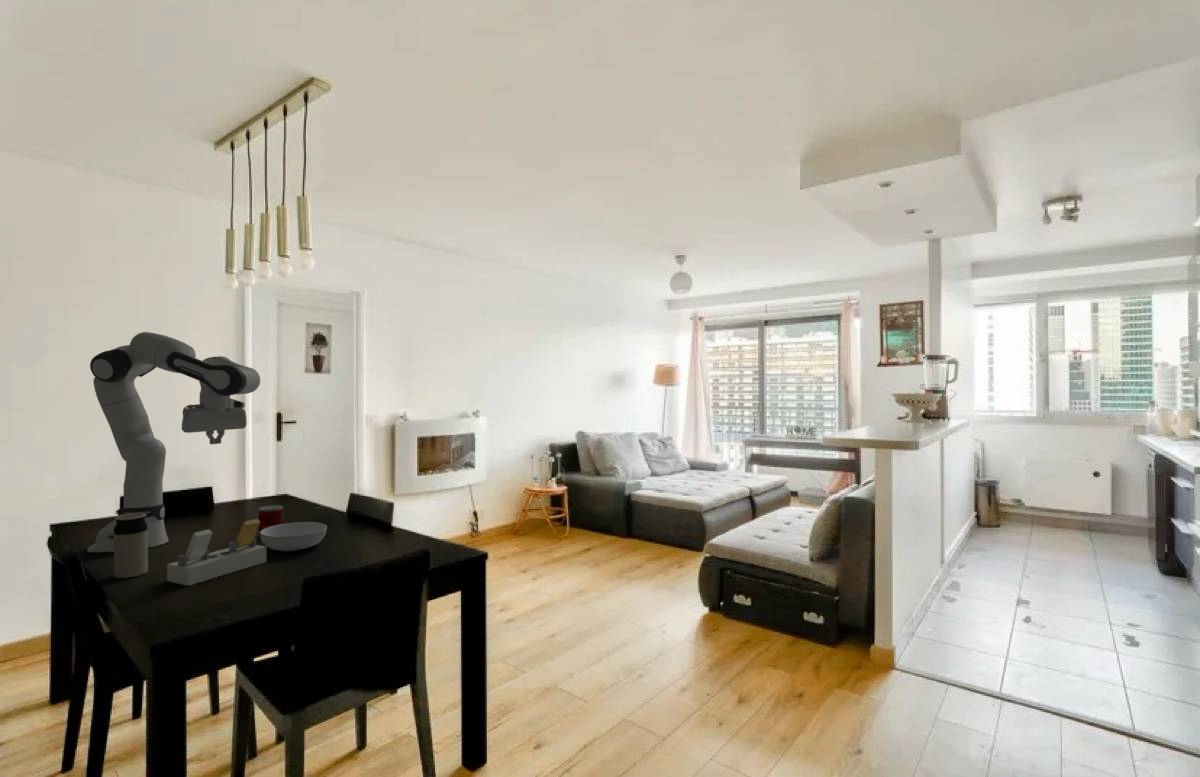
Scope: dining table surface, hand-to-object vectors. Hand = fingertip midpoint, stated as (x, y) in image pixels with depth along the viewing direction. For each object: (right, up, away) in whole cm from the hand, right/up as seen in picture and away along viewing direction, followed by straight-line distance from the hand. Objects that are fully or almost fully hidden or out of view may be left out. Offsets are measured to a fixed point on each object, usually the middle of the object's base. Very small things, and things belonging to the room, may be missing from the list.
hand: (215, 443), depth 201 cm
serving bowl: (+25, -37, +4) cm, 45 cm away
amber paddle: (+18, -31, -14) cm, 38 cm away
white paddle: (+12, -31, -28) cm, 43 cm away
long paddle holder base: (+15, -37, -21) cm, 45 cm away
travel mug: (-10, -38, -24) cm, 46 cm away
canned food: (+8, -37, +19) cm, 43 cm away
